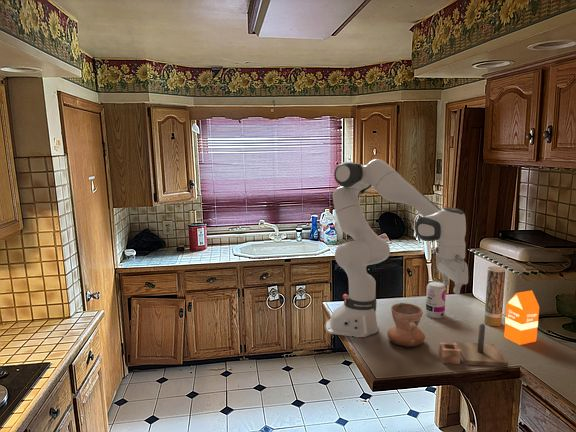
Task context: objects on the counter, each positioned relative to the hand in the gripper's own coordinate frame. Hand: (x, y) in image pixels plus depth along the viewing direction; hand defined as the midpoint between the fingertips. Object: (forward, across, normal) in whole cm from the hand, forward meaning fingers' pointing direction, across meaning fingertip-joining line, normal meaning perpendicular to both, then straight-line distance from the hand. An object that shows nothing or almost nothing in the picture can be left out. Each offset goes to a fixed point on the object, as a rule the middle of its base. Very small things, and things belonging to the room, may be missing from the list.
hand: (451, 289), depth 155 cm
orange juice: (+26, +11, -33) cm, 43 cm away
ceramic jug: (+25, +12, +13) cm, 31 cm away
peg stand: (+26, -2, -11) cm, 28 cm away
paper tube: (+25, +26, -30) cm, 47 cm away
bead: (+26, -4, +2) cm, 26 cm away
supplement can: (+25, +36, -8) cm, 45 cm away
